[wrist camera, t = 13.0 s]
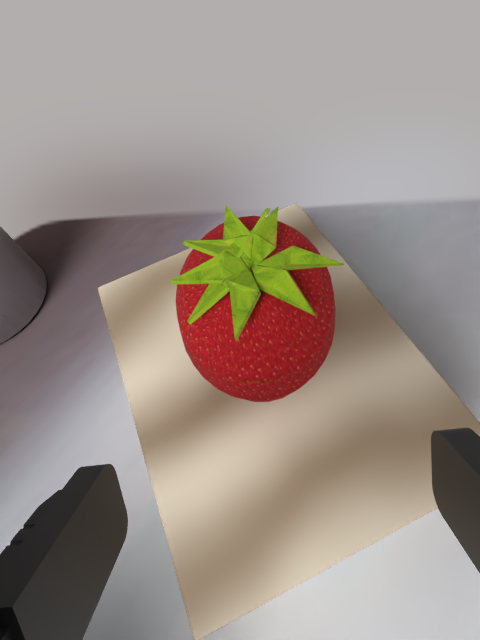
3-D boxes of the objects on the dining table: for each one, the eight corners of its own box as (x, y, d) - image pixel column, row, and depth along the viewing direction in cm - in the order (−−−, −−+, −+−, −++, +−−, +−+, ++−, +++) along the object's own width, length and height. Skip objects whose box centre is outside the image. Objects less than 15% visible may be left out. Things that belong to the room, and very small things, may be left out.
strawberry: (308, 291, 20) (317, 110, 11) (341, 427, 16) (396, 309, 7) (205, 308, 20) (136, 144, 11) (212, 444, 16) (117, 352, 7)
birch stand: (130, 326, 26) (97, 287, 22) (296, 252, 27) (296, 202, 23) (220, 612, 17) (194, 642, 13) (463, 479, 18) (514, 465, 14)
